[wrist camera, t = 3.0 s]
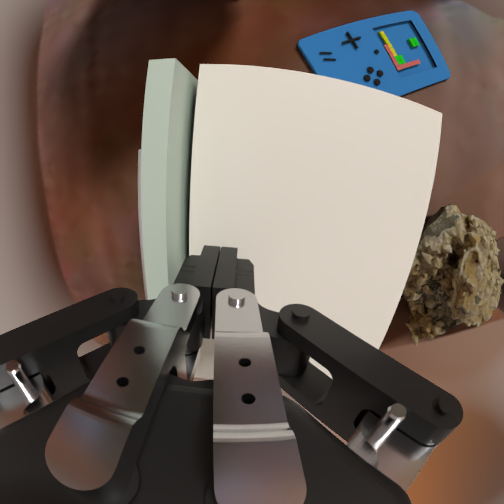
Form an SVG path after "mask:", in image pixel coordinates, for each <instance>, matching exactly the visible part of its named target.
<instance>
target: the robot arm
mask: <svg viewBox="0 0 504 504" xmlns="http://www.w3.org/2000/svg"><path fill="white" fill-rule="evenodd" d="M496 243H497V248H498V249H499V250H500V251H499V252H498V256H497V258H498V263H499V268H500V269H498V272H499V271H501V274H500V277H501V278H502V279H504V238H501V239H499V240H498V241H497V242H496ZM237 251H238V248H234V247H221V248H220V246H209V245H204V247H203V249H202V252H201V255H191V256H189V257H188V258H186V259H185V260H184V262H183V264H182V267H181V268H180V271H179V273H178V275H177V277H176V279H175V281H174V284H172V285H169V286H166V287H165V288H163V289H162V290H161V292H160V293H159V295H158V297H157V298H156V299H152V300H140V301H138V296H137V294H136V292H135V291H133V290H131V289H128V288H114V289H111V290H108V291H105V292H103V293H100V294H98V295H95V296H93V297H90V298H88V299H86V300H83V301H81V302H78V303H76V304H73V305H71V306H69V307H66V308H64V309H61V310H59V311H56V312H54V313H51V314H49V315H47V316H44V317H42V318H39V319H37V320H35V321H32V322H30V323H28V324H25V325H23V326H20V327H18V328H16V329H13V330H11V331H9V332H6V333H4V334H2V335H0V504H411V501H410V499H409V497H408V495H407V494H406V491H407V490H408V488H409V487H410V485H411V484H412V482H413V481H414V479H415V478H416V476H417V475H418V473H419V472H420V470H421V469H422V467H423V465H424V464H425V462H426V461H427V459H428V457H429V455H430V454H431V452H432V450H433V449H434V448H435V447H436V446H437V445H439V444H440V443H441V442H442V441H443V440H444V439H445V438H446V437H447V436H448V435H449V434H450V433H451V432H452V431H453V430H454V429H455V428H456V427H457V426H458V425H459V424H460V423H461V421H462V418H463V409H462V407H461V404H460V403H459V401H458V400H457V399H456V398H455V397H454V396H453V395H451V394H449V393H448V392H446V391H445V390H443V389H441V388H440V387H438V386H436V385H434V384H433V383H431V382H430V381H428V380H427V379H425V378H423V377H422V376H420V375H418V374H417V373H415V372H413V371H412V370H410V369H409V368H407V367H406V366H404V365H402V364H401V363H399V362H397V361H396V360H394V359H393V358H391V357H389V356H388V355H386V354H385V353H383V352H381V351H380V350H378V349H377V348H375V347H373V346H372V345H370V344H369V343H367V342H365V341H364V340H362V339H361V338H359V337H358V336H356V335H354V334H353V333H351V332H350V331H348V330H346V329H345V328H343V327H342V326H340V325H339V324H337V323H335V322H334V321H332V320H331V319H329V318H328V317H326V316H324V315H323V314H321V313H320V312H318V311H317V310H315V309H313V308H312V307H309V306H307V305H303V304H289V305H286V306H284V307H283V308H281V310H280V312H275V311H272V310H269V309H266V308H264V307H262V306H261V305H260V304H259V303H258V301H257V298H256V296H255V286H254V265H253V264H252V262H251V261H250V260H249V259H238V258H237ZM500 292H501V294H500V299H499V303H498V306H497V308H498V309H499V310H500V311H501V312H502V313H503V314H504V283H503V284H502V286H501V290H500ZM211 330H212V339H214V380H205V381H193V379H194V375H195V372H196V369H197V365H198V362H199V358H200V355H201V346H202V343H203V338H206V339H210V336H211ZM105 332H107V334H108V337H109V341H110V343H108V344H106V345H104V346H102V347H100V348H98V349H96V350H94V351H92V352H89V353H87V354H85V355H83V356H81V357H78V355H77V350H78V348H79V346H80V345H81V344H82V343H84V342H86V341H88V340H90V339H93V338H95V337H97V336H99V335H101V334H103V333H105ZM310 357H311V358H312V359H314V360H315V361H316V362H318V363H319V364H320V365H322V366H323V367H324V368H326V369H327V370H328V371H329V372H330V374H331V376H332V378H330V377H329V376H328V375H326V374H325V373H323V372H322V371H321V370H319V369H318V368H317V367H315V366H314V365H313V364H312V363H310V362H309V359H310ZM280 387H281V388H282V389H283V390H284V391H285V392H286V393H288V394H289V395H290V396H291V397H292V398H294V399H295V400H296V401H297V402H298V403H299V404H301V405H302V406H303V407H304V408H305V409H307V410H308V411H309V412H310V413H311V414H313V415H314V416H315V417H316V418H318V419H319V420H320V421H321V422H322V423H324V424H325V425H326V426H328V427H329V428H330V429H331V430H333V431H334V432H335V433H336V434H338V435H339V436H341V437H342V438H343V439H344V440H346V441H347V442H348V443H347V445H345V444H344V443H343V442H341V440H339V439H338V438H336V436H334V435H333V434H332V433H331V432H330V431H328V430H327V429H326V428H325V427H324V426H323V425H322V424H320V423H319V422H318V421H317V420H316V419H314V418H313V417H312V416H311V415H310V414H309V413H308V412H307V411H306V410H304V409H303V408H302V407H301V406H300V405H298V404H297V403H295V402H294V401H292V400H290V399H289V398H287V397H285V396H282V392H281V388H280Z"/></svg>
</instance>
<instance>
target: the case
mask: <svg viewBox="0 0 504 504" xmlns="http://www.w3.org/2000/svg"><path fill="white" fill-rule="evenodd" d="M441 123H442V113H440V112H437V111H435V110H433V109H430V108H428V107H426V106H423V105H421V104H418V103H415V102H413V101H410V100H407V99H405V98H402V97H399V96H396V95H393V94H390V93H387V92H384V91H381V90H377V89H374V88H370V87H367V86H363V85H360V84H356V83H352V82H348V81H344V80H340V79H335V78H331V77H326V76H321V75H316V74H310V73H305V72H299V71H292V70H285V69H277V68H268V67H258V66H246V65H228V64H200V68H199V77H198V86H197V96H196V106H195V118H194V131H193V145H192V162H191V183H190V217H189V256H191V255H201V252H202V249H203V247H204V245H209V246H220V248H221V247H234V248H238V251H237V258H238V259H249V260H250V261H251V262H252V264H253V265H254V286H255V296H256V298H257V301H258V303H259V304H260V305H261V306H262V307H264V308H266V309H269V310H272V311H275V312H280V310H281V308H283V307H284V306H286V305H289V304H303V305H307V306H309V307H312V308H313V309H315V310H317V311H318V312H320V313H321V314H323V315H324V316H326V317H328V318H329V319H331V320H332V321H334V322H335V323H337V324H339V325H340V326H342V327H343V328H345V329H346V330H348V331H350V332H351V333H353V334H354V335H356V336H358V337H359V338H361V339H362V340H364V341H365V342H367V343H369V344H370V345H372V346H373V347H375V348H377V349H378V350H379V348H380V345H381V343H382V341H383V339H384V337H385V334H386V332H387V330H388V328H389V325H390V323H391V320H392V318H393V316H394V313H395V311H396V308H397V306H398V303H399V301H400V298H401V295H402V293H403V290H404V287H405V284H406V282H407V279H408V276H409V273H410V270H411V267H412V264H413V261H414V257H415V254H416V251H417V247H418V244H419V241H420V237H421V233H422V230H423V226H424V222H425V218H426V214H427V210H428V205H429V201H430V196H431V191H432V186H433V181H434V175H435V170H436V164H437V157H438V150H439V142H440V133H441ZM309 362H310V363H312V364H313V365H314V366H315V367H317V368H318V369H319V370H321V371H322V372H323V373H325V374H326V375H328V376H329V377H330V378H332V376H331V374H330V372H329V371H328V370H327V369H326V368H324V367H323V366H322V365H320V364H319V363H318V362H316V361H315V360H314V359H312V358H311V357H310V359H309ZM194 377H196V378H205V379H214V339H212V330H211V336H210V339H206V338H203V343H202V346H201V355H200V358H199V362H198V365H197V369H196V372H195V375H194Z"/></svg>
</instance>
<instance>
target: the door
mask: <svg viewBox="0 0 504 504" xmlns="http://www.w3.org/2000/svg"><path fill="white" fill-rule="evenodd" d="M197 86H198V80H197V79H196V78H195V77H194V76H193V75H192V74H191V73H190V72H189V71H188V70H187V69H186V68H185V67H184V66H183V65H182V64H181V63H180V62H179V61H178V60H177V59H176V58H169V59H156V60H149V64H148V71H147V80H146V89H145V99H144V111H143V125H142V145H141V149H139V150H138V209H139V232H140V247H141V260H142V271H143V281H144V290H145V298H146V300H152V299H156V298H157V297H158V295H159V293H160V292H161V290H162V289H163V288H165V287H166V286H169V285H172V284H174V281H175V279H176V277H177V275H178V273H179V271H180V268H181V267H182V264H183V262H184V260H185V259H186V258H188V257H189V217H190V183H191V162H192V145H193V131H194V118H195V106H196V96H197Z"/></svg>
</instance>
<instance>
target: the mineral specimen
mask: <svg viewBox="0 0 504 504" xmlns="http://www.w3.org/2000/svg"><path fill="white" fill-rule="evenodd" d="M495 236H496V232H495V231H493V230H492V228H491V227H490V226H488V225H487V224H486V223H485V222H484V221H482V220H481V219H479V218H477V217H476V216H474V215H465V214H462V213H461V212H460V211H459V209H458V207H457V206H456V205H451V204H449V205H448V206H446V207H441V208H440V209H439V211H438V212H437V213H436V214H434V215H433V216H430V217H429V220H428V222H427V224H426V225H425V227H424V230H423V234H422V236H421V238H420V241H419V244H418V247H417V251H416V254H415V257H414V261H413V264H412V267H411V270H410V273H409V276H408V279H407V282H406V284H405V287H404V290H403V295H404V298H405V299H406V300H407V303H408V307H409V310H410V319H409V323H407V324H406V326H407V327H408V328H409V331H410V333H411V339H412V341H413V342H414V344H415V346H417V344H418V341H419V339H422V338H425V337H427V338H428V339H430V340H432V339H433V338H434V337H435V336H436V335H440V334H444V333H446V331H447V330H449V329H451V328H452V327H454V326H456V325H459V324H460V323H465V324H466V325H467V326H469V327H470V326H471V324H472V325H476V326H477V327H478V328H479V325H481V324H483V323H485V322H486V321H487V320H489V319H490V317H491V315H492V311H493V310H495V308H496V307H497V306H498V303H499V299H500V294H501V292H500V290H501V286H502V284H503V283H504V279H502V278H501V277H500V274H501V271H499V272H498V269H500V268H499V263H498V258H497V256H498V252H499V251H500V250H499V249H498V248H497V243H496V241H495Z"/></svg>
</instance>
